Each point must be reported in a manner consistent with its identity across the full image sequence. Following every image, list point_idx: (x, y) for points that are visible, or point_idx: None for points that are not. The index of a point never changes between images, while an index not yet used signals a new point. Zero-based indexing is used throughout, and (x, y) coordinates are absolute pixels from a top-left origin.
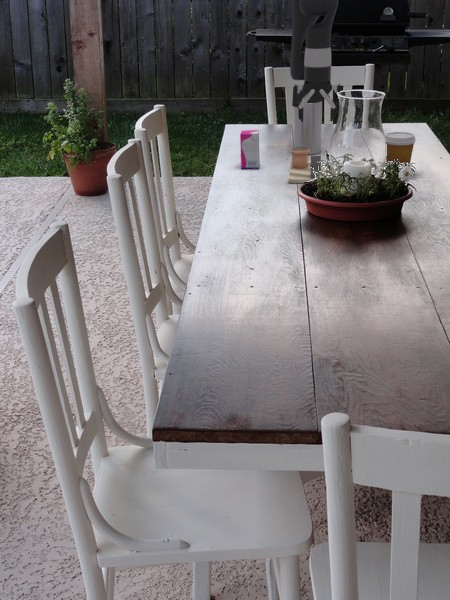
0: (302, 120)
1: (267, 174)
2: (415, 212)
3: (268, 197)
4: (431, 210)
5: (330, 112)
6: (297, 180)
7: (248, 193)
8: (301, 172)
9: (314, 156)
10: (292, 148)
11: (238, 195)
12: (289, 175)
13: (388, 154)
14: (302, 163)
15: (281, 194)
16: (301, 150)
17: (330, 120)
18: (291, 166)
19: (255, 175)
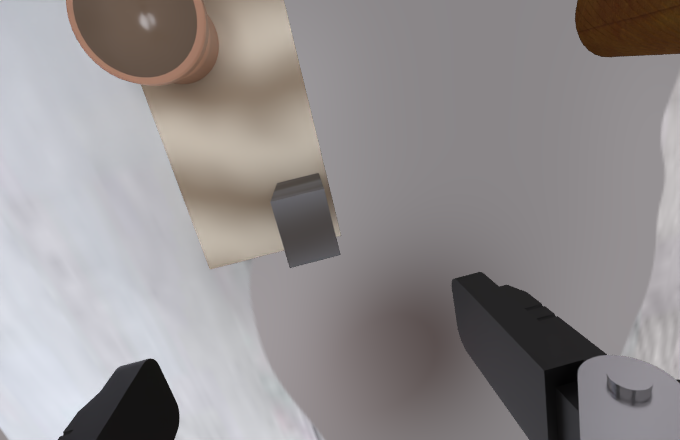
0: (170, 434)
1: (64, 154)
2: None
3: (209, 421)
4: None
5: (510, 393)
6: (246, 259)
7: None
8: (224, 151)
9: (294, 214)
10: (79, 13)
11: None
12: (190, 211)
13: (662, 30)
14: (196, 74)
15: (238, 383)
16: (163, 60)
17: (467, 348)
18: None
19: (19, 184)
